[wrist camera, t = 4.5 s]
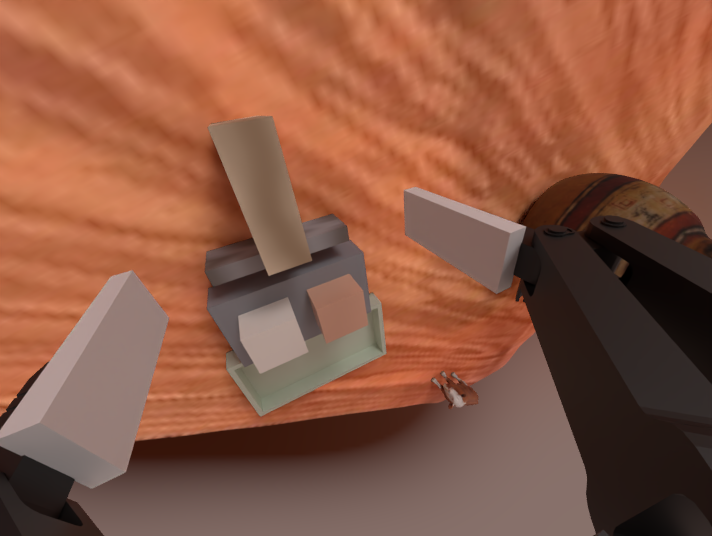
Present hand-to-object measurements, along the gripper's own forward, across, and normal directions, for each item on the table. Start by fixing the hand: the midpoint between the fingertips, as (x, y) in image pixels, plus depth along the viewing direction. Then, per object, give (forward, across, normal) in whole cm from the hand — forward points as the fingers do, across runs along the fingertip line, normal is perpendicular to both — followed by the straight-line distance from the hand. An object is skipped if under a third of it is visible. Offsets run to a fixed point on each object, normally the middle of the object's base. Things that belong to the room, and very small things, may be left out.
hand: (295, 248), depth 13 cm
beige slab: (+14, 0, 0) cm, 14 cm away
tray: (+14, 0, -23) cm, 27 cm away
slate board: (+14, 0, -13) cm, 19 cm away
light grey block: (+10, -4, -13) cm, 17 cm away
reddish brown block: (+10, +3, -13) cm, 17 cm away
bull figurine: (+15, +25, -50) cm, 58 cm away
